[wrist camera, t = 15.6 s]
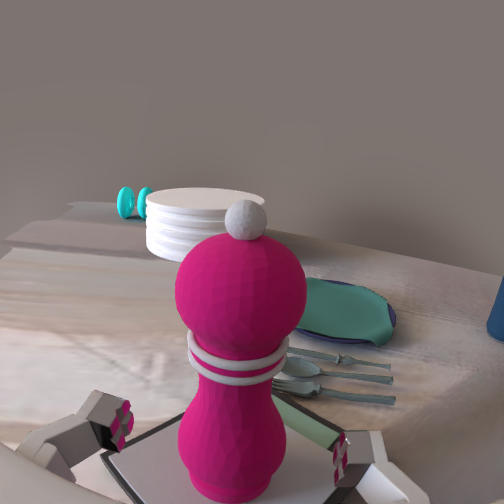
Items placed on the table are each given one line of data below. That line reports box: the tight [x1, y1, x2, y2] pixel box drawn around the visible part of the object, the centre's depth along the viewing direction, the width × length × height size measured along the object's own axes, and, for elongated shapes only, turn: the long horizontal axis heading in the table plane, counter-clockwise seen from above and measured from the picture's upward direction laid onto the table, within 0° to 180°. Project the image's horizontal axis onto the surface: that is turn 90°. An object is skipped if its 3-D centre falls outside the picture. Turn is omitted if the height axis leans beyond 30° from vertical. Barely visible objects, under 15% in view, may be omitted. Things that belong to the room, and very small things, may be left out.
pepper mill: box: [175, 200, 307, 504], centre depth 17 cm, size 7×7×20 cm
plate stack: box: [146, 188, 265, 262], centre depth 76 cm, size 28×28×12 cm
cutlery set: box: [271, 278, 396, 405], centre depth 44 cm, size 20×30×2 cm, turn 164°
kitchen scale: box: [100, 388, 353, 504], centre depth 21 cm, size 18×16×2 cm
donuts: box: [117, 187, 153, 219], centre depth 95 cm, size 10×10×10 cm
